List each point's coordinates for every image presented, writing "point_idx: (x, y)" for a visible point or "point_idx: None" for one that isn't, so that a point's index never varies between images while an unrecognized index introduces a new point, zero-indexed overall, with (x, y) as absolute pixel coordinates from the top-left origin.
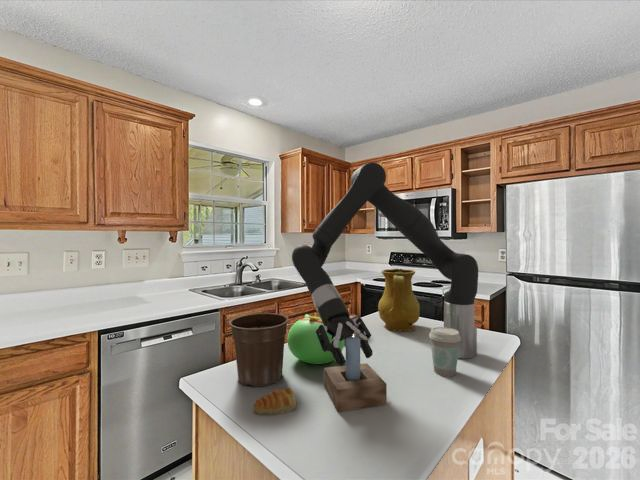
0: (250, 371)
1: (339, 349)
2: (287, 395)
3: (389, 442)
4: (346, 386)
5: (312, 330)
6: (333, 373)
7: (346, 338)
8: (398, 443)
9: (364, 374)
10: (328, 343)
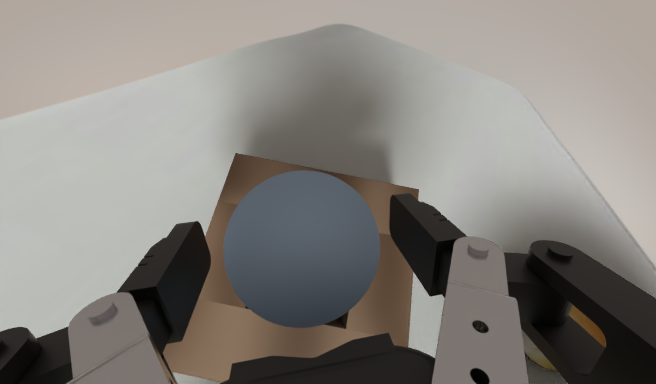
0: None
1: (436, 233)
2: None
3: (340, 81)
4: (378, 196)
5: None
6: (381, 326)
7: (354, 293)
8: (326, 73)
9: None
10: (570, 252)
